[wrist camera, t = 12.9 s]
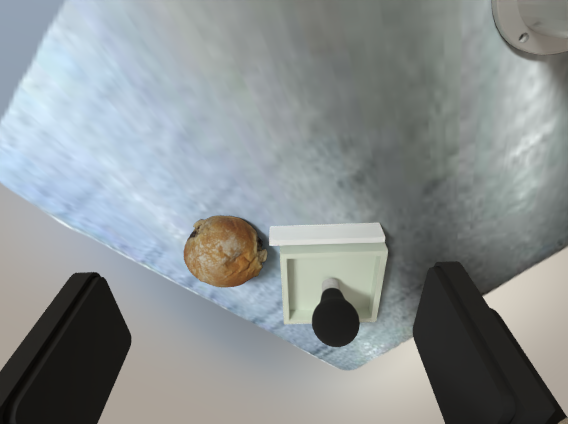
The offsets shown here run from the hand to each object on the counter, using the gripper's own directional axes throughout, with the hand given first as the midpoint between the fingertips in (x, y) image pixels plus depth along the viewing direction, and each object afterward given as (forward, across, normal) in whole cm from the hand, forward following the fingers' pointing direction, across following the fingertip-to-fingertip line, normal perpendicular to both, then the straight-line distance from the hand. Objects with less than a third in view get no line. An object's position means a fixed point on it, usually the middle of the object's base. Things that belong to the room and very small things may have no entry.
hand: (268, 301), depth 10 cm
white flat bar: (+28, -5, +18) cm, 34 cm away
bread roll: (+29, +8, +20) cm, 36 cm away
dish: (+28, -6, +27) cm, 40 cm away
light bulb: (+28, -6, +27) cm, 39 cm away
